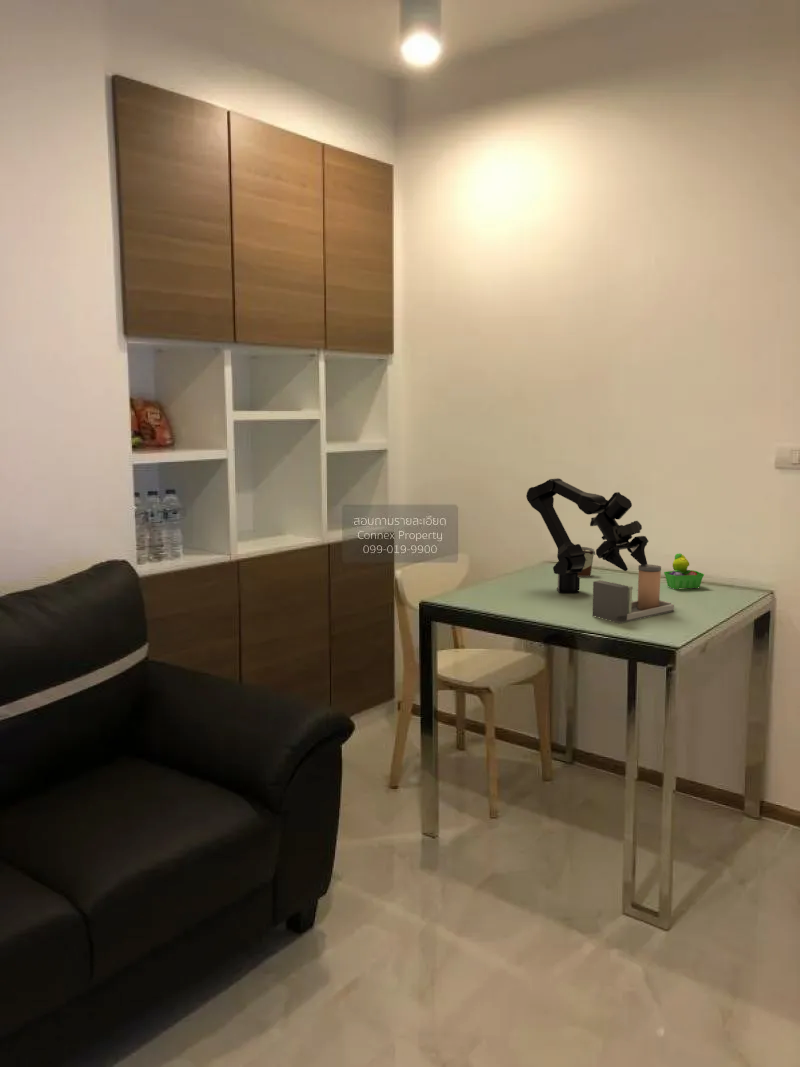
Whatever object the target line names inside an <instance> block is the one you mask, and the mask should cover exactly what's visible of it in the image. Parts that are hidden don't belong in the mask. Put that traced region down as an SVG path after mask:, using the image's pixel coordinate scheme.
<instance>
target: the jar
mask: <svg viewBox="0 0 800 1067" xmlns="http://www.w3.org/2000/svg"><path fill="white" fill-rule="evenodd" d="M637 566H638V577H637V579H638V582H637V600H638V602H637V608H638V609H639V610H647V609H651V608H656V607H659V601H660V600H661V599H660V597H661V596H660V595H661V575H662V574H661V573H662V572H661V571H662V566H660V565H658V564H648V565H641V564H639V565H637Z"/></svg>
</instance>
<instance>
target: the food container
mask: <svg viewBox="0 0 800 1067" xmlns="http://www.w3.org/2000/svg"><path fill="white" fill-rule="evenodd" d="M581 548H582V550H583V552H584V553H585V555H584V556H585V558H586V561H585V565H584V567H583V570H582V572H581V573H578V577H588V576H592V575H591V574H592V569H593V562H594V556H596V550H595V549H594V548H592V547H586V546H581Z"/></svg>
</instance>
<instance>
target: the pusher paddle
mask: <svg viewBox="0 0 800 1067" xmlns="http://www.w3.org/2000/svg"><path fill="white" fill-rule="evenodd" d="M611 583H615V584H618V583H617V582H611ZM619 584H620V585H623V584H621V583H619ZM624 585H625V584H624ZM625 586H628V602H627V614H628V613H631V607H632V601H633V599H632V597H633V589H634V588H633V586H631V585H625Z"/></svg>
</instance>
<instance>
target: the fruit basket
mask: <svg viewBox="0 0 800 1067" xmlns="http://www.w3.org/2000/svg"><path fill="white" fill-rule="evenodd" d="M689 566H690V562H689V560H688V559H687V558H686V557H685V555H684V554H682V553H679V552H678V553H676V554H675V556H674V560H673V562H672V568H673V570H669V571H664V572H663V574H664V576H665V580H666V584H667V587H668V586H669V587H668V588H670V587H671V588H670V589H672V588H674V589H678V590H680V589H679V588H698V587H699V588H700V586H701V584H702V580H703V578H704V576H705V573H702V572H699V571H697V570H693V569H692V570H691V569H688V567H689ZM699 588H698V589H699ZM674 589H673V590H674Z"/></svg>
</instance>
